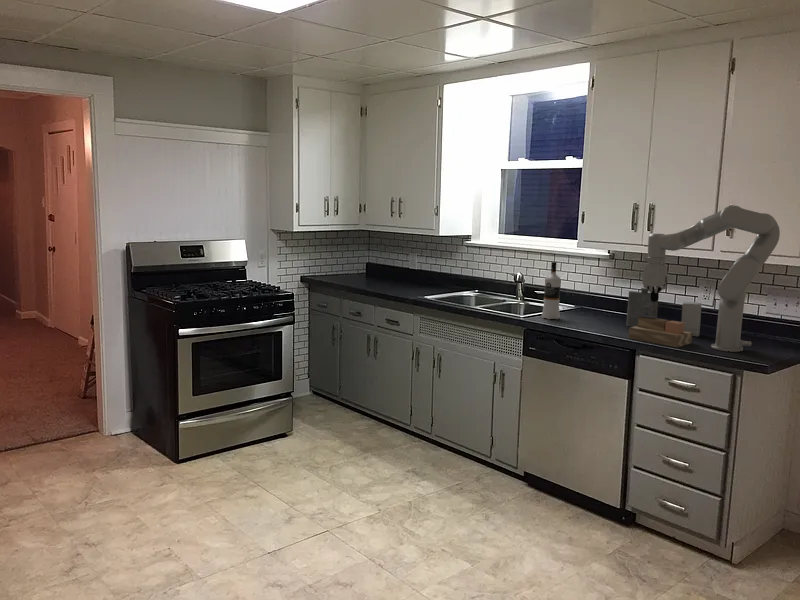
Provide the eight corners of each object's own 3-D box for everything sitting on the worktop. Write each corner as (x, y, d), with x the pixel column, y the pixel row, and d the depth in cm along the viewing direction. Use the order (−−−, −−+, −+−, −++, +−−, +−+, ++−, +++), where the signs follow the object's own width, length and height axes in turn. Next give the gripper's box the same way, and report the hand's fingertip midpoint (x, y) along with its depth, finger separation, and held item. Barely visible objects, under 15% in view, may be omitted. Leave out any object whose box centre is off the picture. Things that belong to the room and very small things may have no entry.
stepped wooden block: (643, 334, 323) (645, 314, 321) (691, 343, 306) (693, 322, 304) (628, 338, 313) (630, 317, 312) (676, 347, 297) (678, 325, 295)
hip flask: (624, 325, 345) (627, 286, 342) (629, 324, 348) (632, 285, 345) (653, 330, 333) (656, 290, 330) (658, 330, 335) (661, 289, 332)
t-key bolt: (638, 314, 320) (639, 304, 319) (658, 317, 312) (659, 307, 312) (631, 315, 316) (632, 305, 315) (651, 318, 308) (652, 308, 308)
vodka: (563, 318, 359) (566, 262, 355) (551, 320, 354) (554, 262, 349) (549, 316, 367) (553, 260, 362) (538, 317, 361) (541, 261, 357)
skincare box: (699, 334, 326) (702, 302, 324) (698, 337, 321) (701, 304, 318) (680, 332, 330) (683, 300, 328) (679, 335, 324) (682, 302, 322)
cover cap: (671, 330, 308) (672, 320, 308) (684, 332, 304) (685, 322, 303) (664, 331, 304) (665, 322, 304) (677, 334, 300) (678, 324, 299)
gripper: (636, 260, 311) (634, 300, 313) (668, 262, 300) (666, 303, 302) (644, 259, 316) (643, 299, 318) (676, 261, 305) (674, 302, 307)
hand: (654, 301), depth 310 cm, fingers closed
